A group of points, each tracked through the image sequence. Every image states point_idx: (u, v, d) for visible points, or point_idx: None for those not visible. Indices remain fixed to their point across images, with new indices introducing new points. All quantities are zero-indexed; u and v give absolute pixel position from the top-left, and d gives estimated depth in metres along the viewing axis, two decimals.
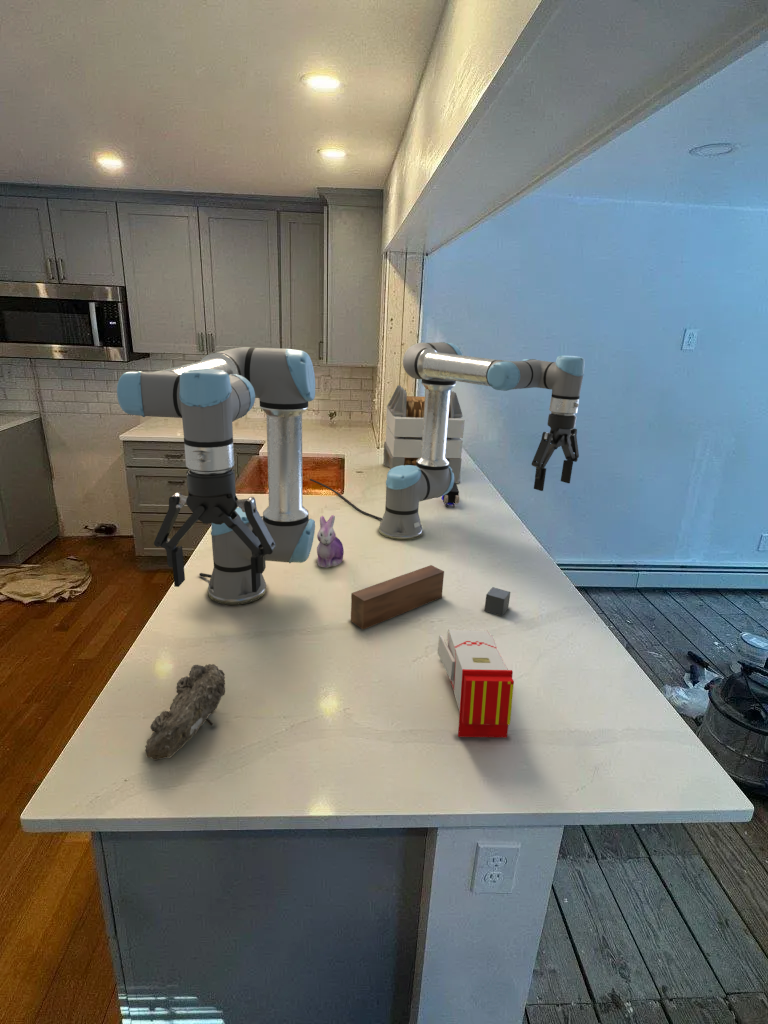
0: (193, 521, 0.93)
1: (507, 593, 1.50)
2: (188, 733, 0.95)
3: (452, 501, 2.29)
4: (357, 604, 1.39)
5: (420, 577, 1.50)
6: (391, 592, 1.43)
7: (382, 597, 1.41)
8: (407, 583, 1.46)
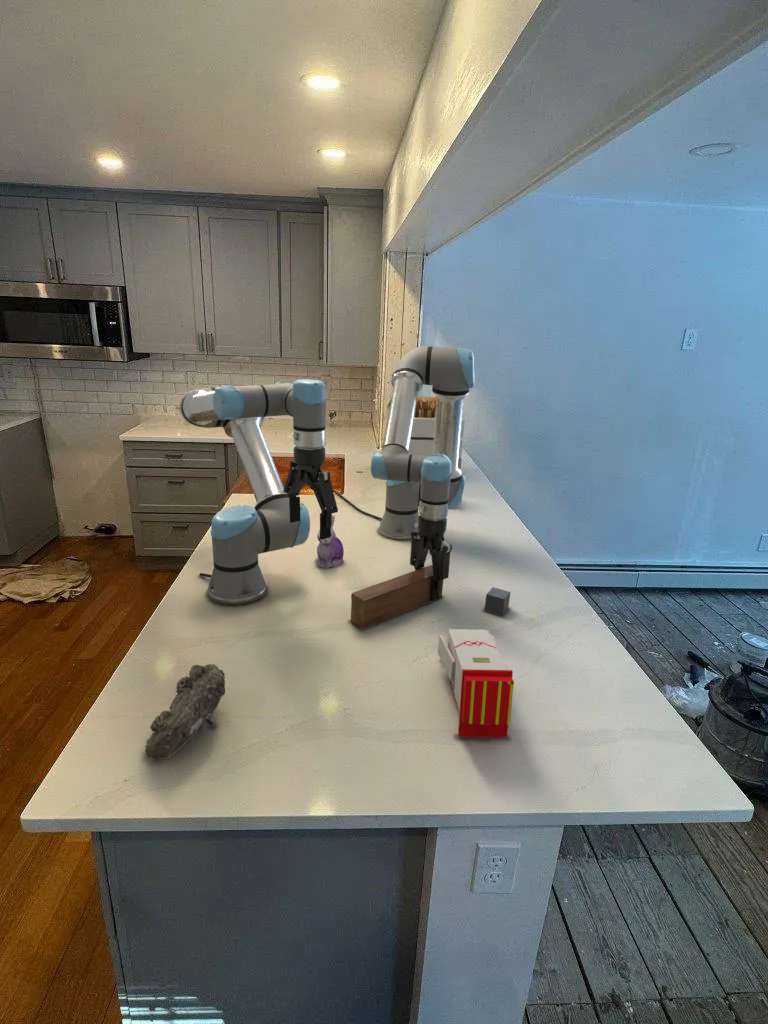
0: (297, 480, 1.39)
1: (507, 593, 1.50)
2: (188, 733, 0.95)
3: None
4: (357, 604, 1.39)
5: (420, 577, 1.50)
6: (391, 592, 1.43)
7: (382, 597, 1.41)
8: (407, 583, 1.46)
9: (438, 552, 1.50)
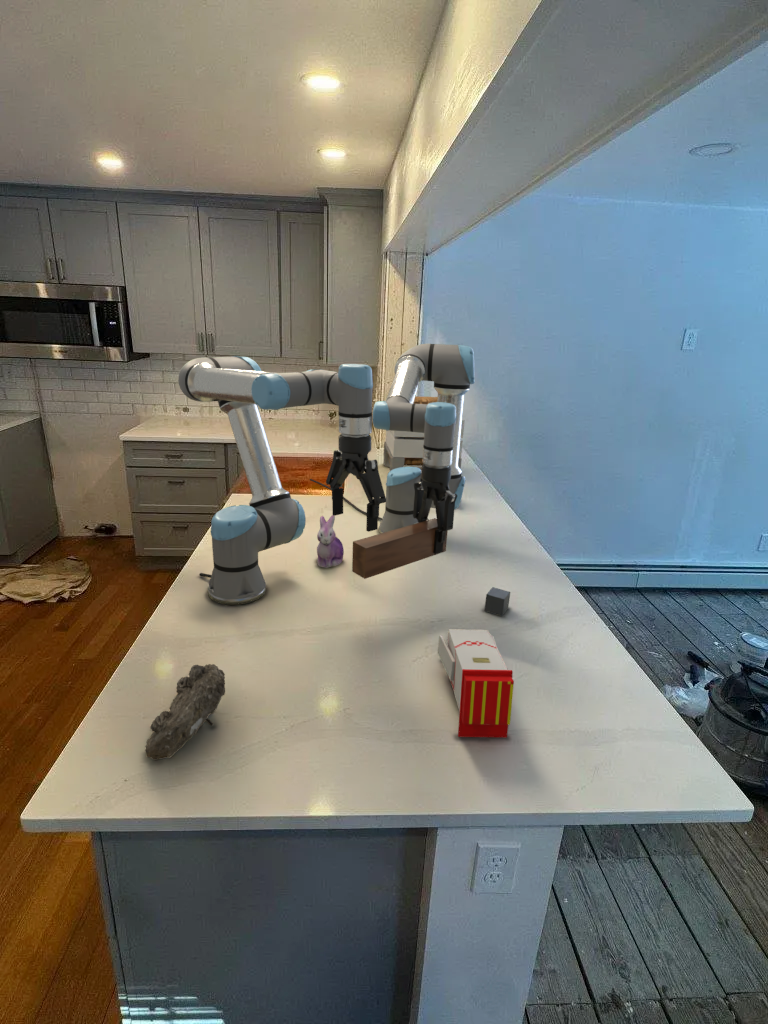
0: (341, 470, 1.33)
1: (507, 593, 1.50)
2: (188, 733, 0.95)
3: None
4: (359, 552, 1.35)
5: (424, 528, 1.46)
6: (394, 541, 1.38)
7: (384, 546, 1.36)
8: (410, 533, 1.42)
9: (442, 502, 1.45)
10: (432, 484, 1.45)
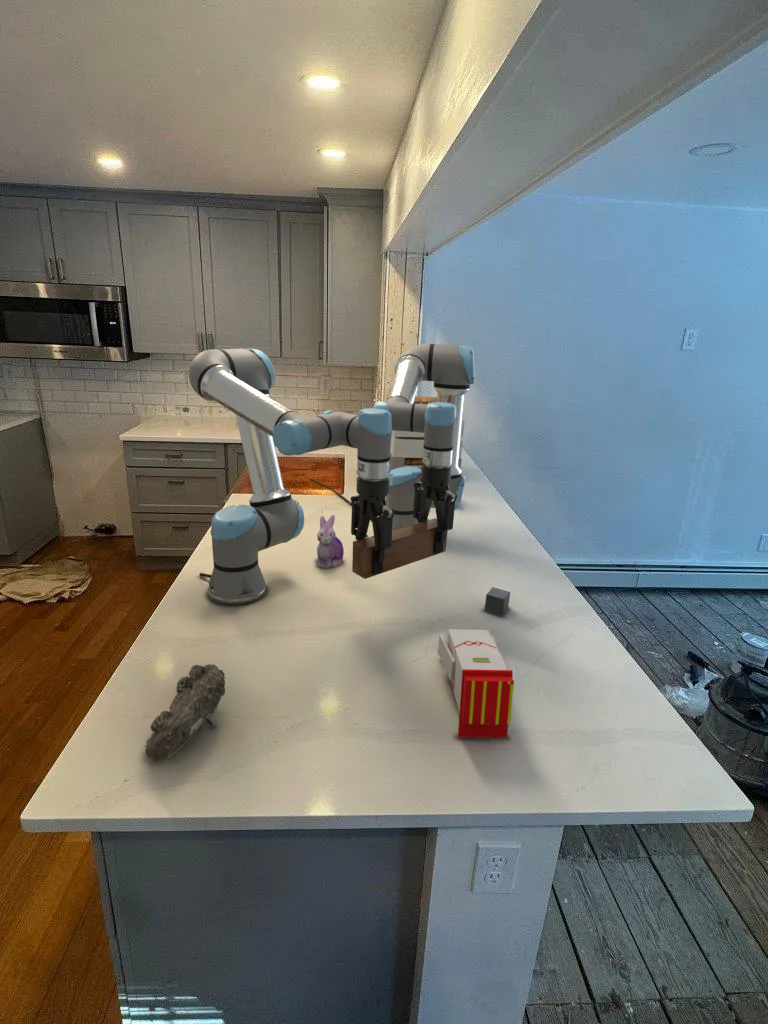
0: (361, 513, 1.34)
1: (507, 593, 1.50)
2: (188, 733, 0.95)
3: None
4: (359, 552, 1.35)
5: (424, 528, 1.46)
6: (394, 541, 1.38)
7: None
8: (410, 533, 1.42)
9: (442, 502, 1.45)
10: (432, 484, 1.45)
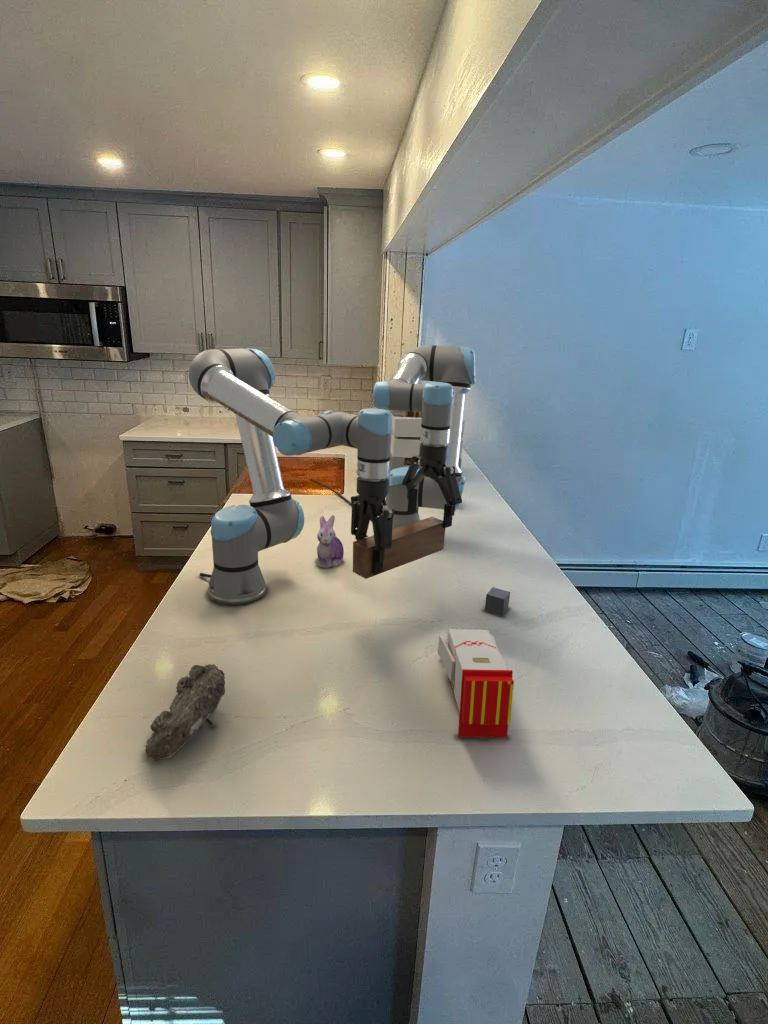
0: (361, 513, 1.34)
1: (507, 593, 1.50)
2: (188, 733, 0.95)
3: None
4: (359, 553, 1.35)
5: (422, 527, 1.46)
6: (394, 540, 1.38)
7: None
8: (409, 532, 1.42)
9: (443, 478, 1.48)
10: (430, 462, 1.49)
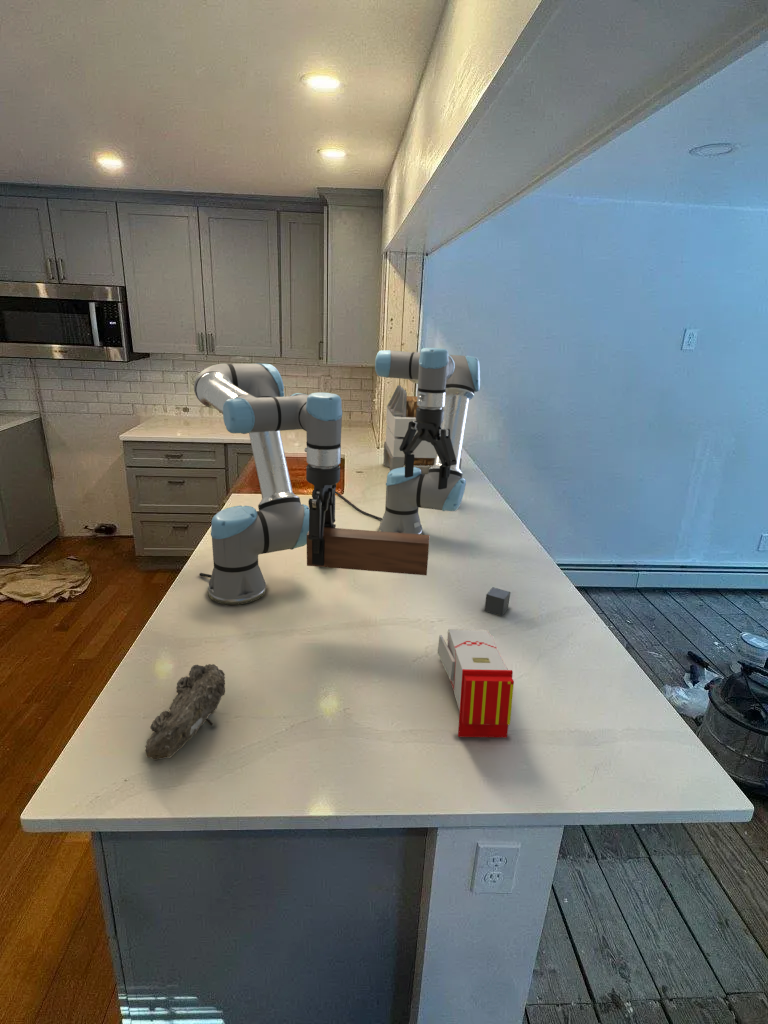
0: None
1: (507, 593, 1.50)
2: (188, 733, 0.95)
3: None
4: None
5: (394, 539, 1.29)
6: (344, 538, 1.29)
7: (332, 540, 1.29)
8: (370, 538, 1.29)
9: (439, 441, 1.54)
10: (426, 426, 1.54)
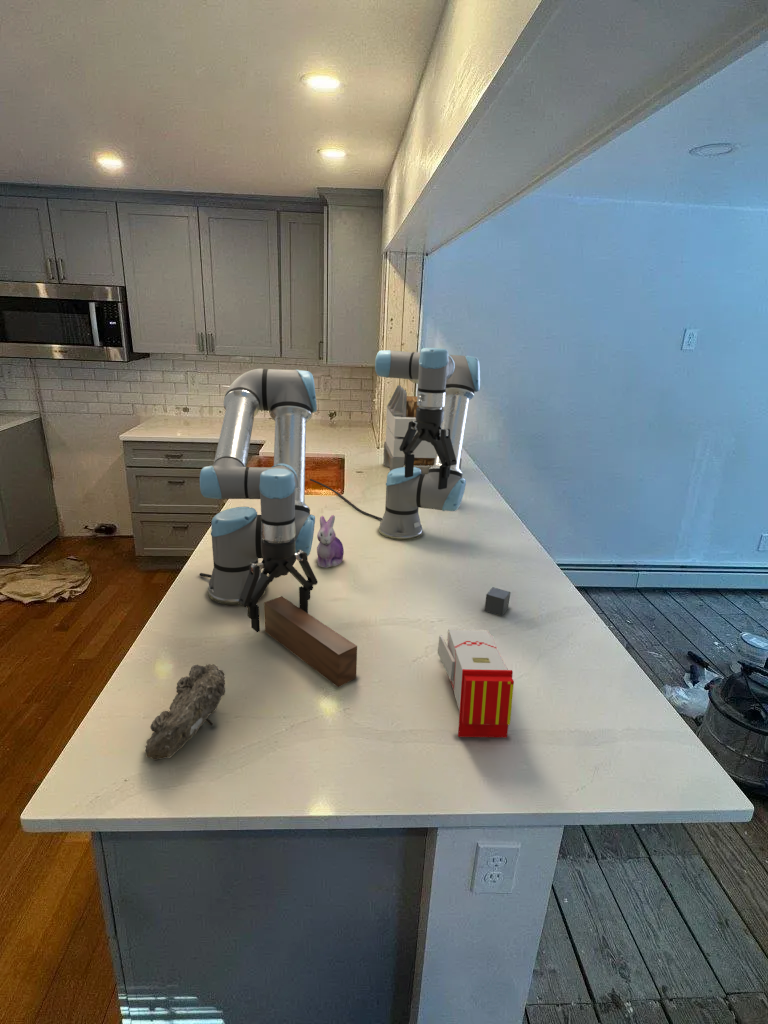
0: None
1: (507, 593, 1.50)
2: (188, 733, 0.95)
3: None
4: None
5: (319, 636, 1.21)
6: (285, 618, 1.28)
7: (278, 615, 1.31)
8: (302, 627, 1.25)
9: (439, 441, 1.54)
10: (426, 426, 1.54)
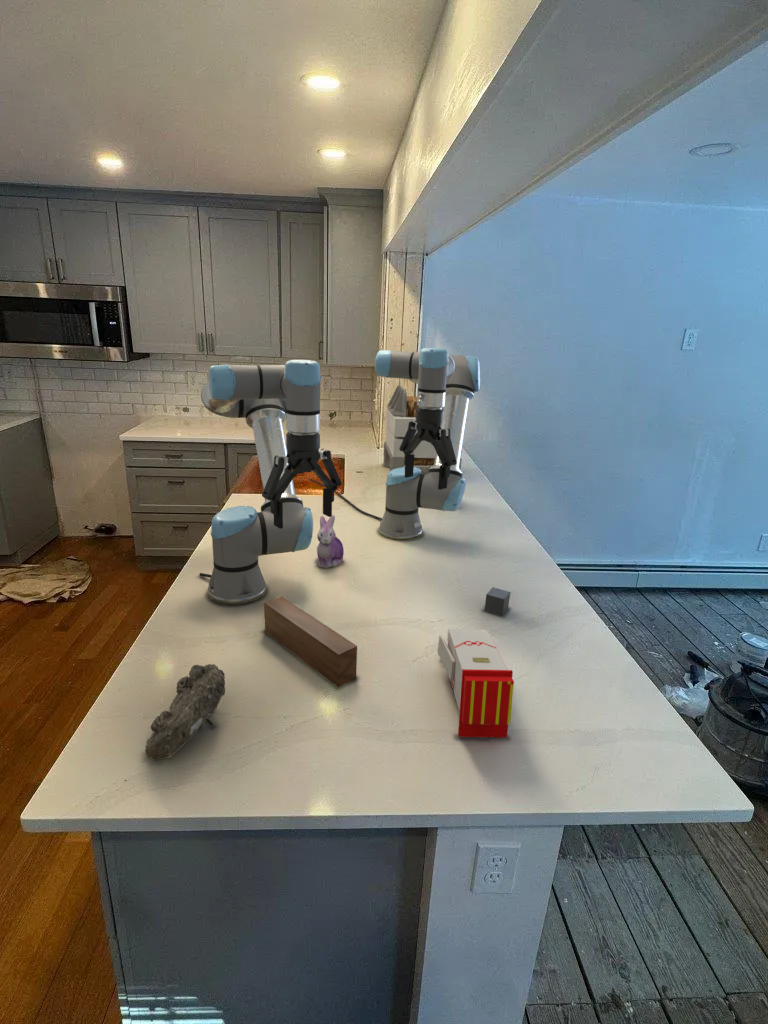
0: None
1: (507, 593, 1.50)
2: (188, 733, 0.95)
3: None
4: None
5: (319, 636, 1.21)
6: (285, 618, 1.28)
7: (278, 615, 1.31)
8: (302, 627, 1.25)
9: (439, 441, 1.54)
10: (426, 426, 1.54)
